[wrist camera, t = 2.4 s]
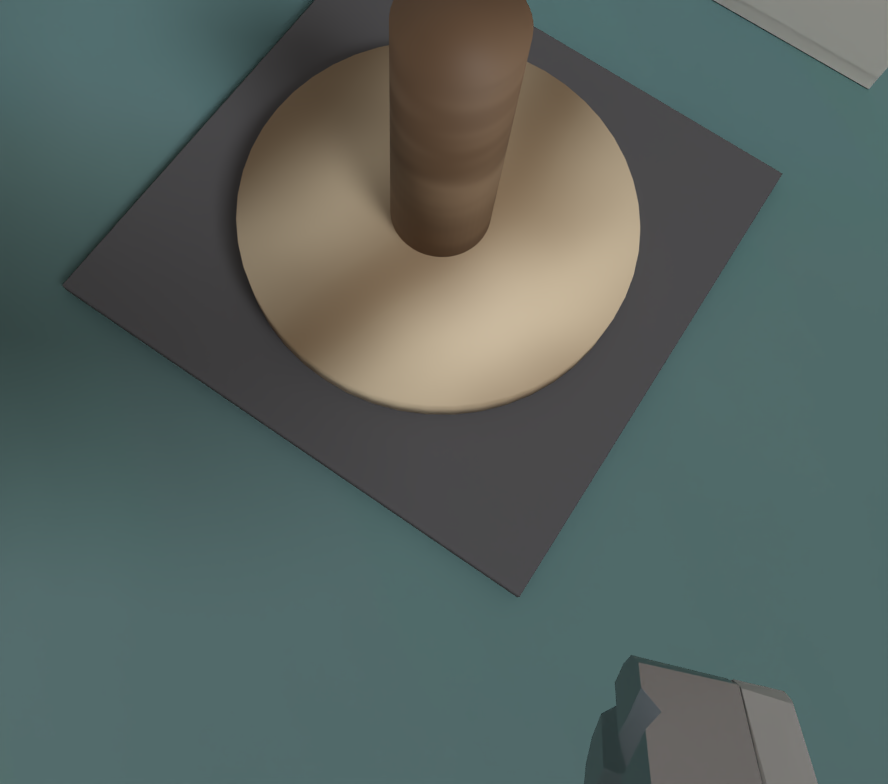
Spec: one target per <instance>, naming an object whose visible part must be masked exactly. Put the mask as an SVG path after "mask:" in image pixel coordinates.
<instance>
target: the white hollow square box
mask: <svg viewBox="0 0 888 784" xmlns="http://www.w3.org/2000/svg"><path fill="white" fill-rule="evenodd" d="M714 1H716V2H717V3H719V4H721V5H723V6H724V7H726V8H728V9H730V10H731V11H733V12H735V13H737V14H738V15H740V16H742V17H744V18H745V19H747V20H749V21H751V22H752V23H754V24H756V25H758V26H759V27H761V28H763V29H765V30H766V31H768V32H770V33H771V34H773V35H775V36H777V37H778V38H780V39H782V40H784V41H785V42H787V43H789V44H791V45H792V46H794V47H796V48H798V49H799V50H801V51H803V52H805V53H806V54H808V55H810V56H812V57H813V58H815V59H817V60H819V61H820V62H822V63H824V64H826V65H827V66H829V67H831V68H833V69H834V70H836V71H838V72H840V73H841V74H843V75H845V76H847V77H848V78H850V79H852V80H853V81H855V82H857V83H859V84H860V85H862V86H864V87H866V88H867V89H869V88H870V87H871V86H872V85H873V84H874V82H875V81H876V80H877V79H878V78H879V77H880V76H881V74H882V73H883V72H884V71H885V70H886V69H887V67H888V0H714Z"/></svg>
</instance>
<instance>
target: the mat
mask: <svg viewBox="0 0 888 784" xmlns="http://www.w3.org/2000/svg"><path fill="white" fill-rule="evenodd" d="M392 2H393V0H315V1H314V2H313V3H312V4H311V5H310V6H309V7H308V9H307V10H306V11H305V12H304V13H303V14H302V15H301V17H300V18H299V19H298V20H297V21H296V22H295V23H294V24H293V26H292V27H291V28H290V29H289V30H288V31H287V32H286V33H285V35H284V36H283V37H282V38H281V39H280V40H279V41H278V42H277V44H276V45H275V46H274V47H273V48H272V49H271V50H270V51H269V53H268V54H267V55H266V56H265V57H264V58H263V59H262V60H261V62H260V63H259V64H258V65H257V66H256V67H255V68H254V69H253V71H252V72H251V73H250V74H249V75H248V76H247V77H246V79H245V80H244V81H243V82H242V83H241V84H240V85H239V86H238V88H237V89H236V90H235V91H234V92H233V93H232V94H231V95H230V97H229V98H228V99H227V100H226V101H225V102H224V103H223V104H222V106H221V107H220V108H219V109H218V110H217V111H216V112H215V113H214V115H213V116H212V117H211V118H210V119H209V120H208V121H207V122H206V124H205V125H204V126H203V127H202V128H201V129H200V130H199V131H198V133H197V134H196V135H195V136H194V137H193V138H192V139H191V141H190V142H189V143H188V144H187V145H186V146H185V147H184V148H183V150H182V151H181V152H180V153H179V154H178V155H177V156H176V157H175V159H174V160H173V161H172V162H171V163H170V164H169V165H168V166H167V168H166V169H165V170H164V171H163V172H162V173H161V174H160V175H159V177H158V178H157V179H156V180H155V181H154V182H153V183H152V184H151V186H150V187H149V188H148V189H147V190H146V191H145V192H144V193H143V195H142V196H141V197H140V198H139V199H138V200H137V201H136V203H135V204H134V205H133V206H132V207H131V208H130V209H129V210H128V212H127V213H126V214H125V215H124V216H123V217H122V218H121V219H120V221H119V222H118V223H117V224H116V225H115V226H114V227H113V228H112V230H111V231H110V232H109V233H108V234H107V235H106V236H105V237H104V239H103V240H102V241H101V242H100V243H99V244H98V245H97V246H96V248H95V249H94V250H93V251H92V252H91V253H90V254H89V255H88V257H87V258H86V259H85V260H84V261H83V262H82V263H81V264H80V266H79V267H78V268H77V269H76V270H75V271H74V272H73V274H72V275H71V276H70V277H69V278H68V279H67V280H66V281H65V283H64V284H63V287H64V288H65V289H66V290H67V291H69V292H70V293H72V294H73V295H75V296H76V297H77V298H79V299H80V300H82V301H83V302H85V303H86V304H88V305H89V306H91V307H92V308H94V309H95V310H97V311H98V312H100V313H101V314H102V315H104V316H105V317H107V318H108V319H110V320H111V321H113V322H114V323H116V324H117V325H119V326H120V327H122V328H123V329H124V330H126V331H127V332H129V333H130V334H132V335H133V336H135V337H136V338H138V339H139V340H141V341H142V342H144V343H145V344H146V345H148V346H149V347H151V348H152V349H154V350H155V351H157V352H158V353H160V354H161V355H163V356H164V357H166V358H167V359H168V360H170V361H171V362H173V363H174V364H176V365H177V366H179V367H180V368H182V369H183V370H185V371H186V372H188V373H189V374H190V375H192V376H193V377H195V378H196V379H198V380H199V381H201V382H202V383H204V384H205V385H207V386H208V387H210V388H211V389H212V390H214V391H215V392H217V393H218V394H220V395H221V396H223V397H224V398H226V399H227V400H229V401H230V402H232V403H233V404H235V405H236V406H237V407H239V408H240V409H242V410H243V411H245V412H246V413H248V414H249V415H251V416H252V417H254V418H255V419H257V420H258V421H259V422H261V423H262V424H264V425H265V426H267V427H268V428H270V429H271V430H273V431H274V432H276V433H277V434H279V435H280V436H281V437H283V438H284V439H286V440H287V441H289V442H290V443H292V444H293V445H295V446H296V447H298V448H299V449H301V450H302V451H303V452H305V453H306V454H308V455H309V456H311V457H312V458H314V459H315V460H317V461H318V462H320V463H321V464H323V465H324V466H325V467H327V468H328V469H330V470H331V471H333V472H334V473H336V474H337V475H339V476H340V477H342V478H343V479H345V480H346V481H348V482H349V483H350V484H352V485H353V486H355V487H356V488H358V489H359V490H361V491H362V492H364V493H365V494H367V495H368V496H370V497H371V498H372V499H374V500H375V501H377V502H378V503H380V504H381V505H383V506H384V507H386V508H387V509H389V510H390V511H392V512H393V513H394V514H396V515H397V516H399V517H400V518H402V519H403V520H405V521H406V522H408V523H409V524H411V525H412V526H414V527H415V528H416V529H418V530H419V531H421V532H422V533H424V534H425V535H427V536H428V537H430V538H431V539H433V540H434V541H436V542H437V543H438V544H440V545H441V546H443V547H444V548H446V549H447V550H449V551H450V552H452V553H453V554H455V555H456V556H458V557H459V558H460V559H462V560H463V561H465V562H466V563H468V564H469V565H471V566H472V567H474V568H475V569H477V570H478V571H480V572H481V573H483V574H484V575H485V576H487V577H488V578H490V579H491V580H493V581H494V582H496V583H497V584H499V585H500V586H502V587H503V588H505V589H506V590H507V591H509V592H510V593H512V594H513V595H515V596H516V597H520V595H521V593H522V592H523V590H524V588H525V587H526V585H527V584H528V582H529V580H530V579H531V577H532V576H533V574H534V572H535V571H536V569H537V568H538V566H539V564H540V563H541V561H542V560H543V558H544V556H545V555H546V553H547V552H548V550H549V548H550V547H551V545H552V543H553V542H554V540H555V539H556V537H557V535H558V534H559V532H560V531H561V529H562V527H563V526H564V524H565V523H566V521H567V519H568V518H569V516H570V515H571V513H572V511H573V510H574V508H575V506H576V505H577V503H578V502H579V500H580V498H581V497H582V495H583V494H584V492H585V490H586V489H587V487H588V486H589V484H590V482H591V481H592V479H593V478H594V476H595V474H596V473H597V471H598V469H599V468H600V466H601V465H602V463H603V461H604V460H605V458H606V457H607V455H608V453H609V452H610V450H611V449H612V447H613V445H614V444H615V442H616V441H617V439H618V437H619V436H620V434H621V433H622V431H623V429H624V428H625V426H626V424H627V423H628V421H629V420H630V418H631V416H632V415H633V413H634V412H635V410H636V408H637V407H638V405H639V404H640V402H641V400H642V399H643V397H644V396H645V394H646V392H647V391H648V389H649V387H650V386H651V384H652V383H653V381H654V379H655V378H656V376H657V375H658V373H659V371H660V370H661V368H662V367H663V365H664V363H665V362H666V360H667V359H668V357H669V355H670V354H671V352H672V350H673V349H674V347H675V346H676V344H677V342H678V341H679V339H680V338H681V336H682V334H683V333H684V331H685V330H686V328H687V326H688V325H689V323H690V322H691V320H692V318H693V317H694V315H695V313H696V312H697V310H698V309H699V307H700V305H701V304H702V302H703V301H704V299H705V297H706V296H707V294H708V293H709V291H710V289H711V288H712V286H713V285H714V283H715V281H716V280H717V278H718V277H719V275H720V273H721V272H722V270H723V268H724V267H725V265H726V264H727V262H728V260H729V259H730V257H731V256H732V254H733V252H734V251H735V249H736V248H737V246H738V244H739V243H740V241H741V240H742V238H743V236H744V235H745V233H746V231H747V230H748V228H749V227H750V225H751V223H752V222H753V220H754V219H755V217H756V215H757V214H758V212H759V211H760V209H761V207H762V206H763V204H764V203H765V201H766V199H767V198H768V196H769V194H770V193H771V191H772V190H773V188H774V186H775V185H776V183H777V182H778V180H779V178H780V177H781V175H782V173H780V172H779V171H777V170H775V169H774V168H772V167H770V166H769V165H767V164H765V163H764V162H762V161H760V160H758V159H757V158H755V157H753V156H752V155H750V154H748V153H747V152H745V151H743V150H742V149H740V148H738V147H737V146H735V145H733V144H731V143H730V142H728V141H726V140H725V139H723V138H721V137H720V136H718V135H716V134H715V133H713V132H711V131H710V130H708V129H706V128H704V127H703V126H701V125H699V124H698V123H696V122H694V121H693V120H691V119H689V118H688V117H686V116H684V115H683V114H681V113H679V112H677V111H676V110H674V109H672V108H671V107H669V106H667V105H666V104H664V103H662V102H661V101H659V100H657V99H656V98H654V97H652V96H650V95H649V94H647V93H645V92H644V91H642V90H640V89H639V88H637V87H635V86H634V85H632V84H630V83H629V82H627V81H625V80H623V79H622V78H620V77H618V76H617V75H615V74H613V73H612V72H610V71H608V70H607V69H605V68H603V67H602V66H600V65H598V64H596V63H595V62H593V61H591V60H590V59H588V58H586V57H585V56H583V55H581V54H580V53H578V52H576V51H575V50H573V49H571V48H569V47H568V46H566V45H564V44H563V43H561V42H559V41H558V40H556V39H554V38H553V37H551V36H549V35H548V34H546V33H544V32H543V31H541V30H539V29H537V28H536V27H534V26H533V37H532V42H531V46H530V50H529V55H528V59H527V62H528V63H530V64H532V65H534V66H536V67H538V68H540V69H542V70H544V71H546V72H547V73H549V74H550V75H552V76H553V77H555V78H556V79H558V80H559V81H561V82H562V83H564V84H565V85H566V86H568V87H569V88H570V89H571V90H572V91H573V92H575V93H576V94H577V95H578V96H579V97H580V98H582V99H583V100H584V101H585V102H586V103H587V104H588V105H589V106H590V108H591V109H592V110H593V111H594V112H595V113H596V114H597V115H598V116H599V117H600V119H601V120H602V121H603V123H604V124H605V126H606V127H607V128H608V130H609V131H610V133H611V134H612V135H613V137H614V138H615V140H616V142H617V144H618V146H619V148H620V150H621V152H622V154H623V155H624V157H625V159H626V162H627V165H628V167H629V170H630V173H631V176H632V178H633V181H634V185H635V190H636V194H637V199H638V203H639V216H640V241H639V253H638V257H637V262H636V267H635V271H634V275H633V278H632V281H631V283H630V286H629V289H628V291H627V294H626V297H625V299H624V300H623V302H622V304H621V306H620V308H619V310H618V311H617V313H616V315H615V317H614V319H613V320H612V322H611V323H610V324H609V326H608V327H607V329H606V330H605V332H604V333H603V334H602V336H601V337H600V338H599V340H598V341H597V342H596V344H595V345H594V346H593V348H592V349H591V350H590V351H589V352H588V353H587V354H586V355H585V356H584V357H583V358H582V359H581V360H580V361H579V362H578V363H577V364H576V365H575V366H574V367H573V368H572V369H571V370H569V371H568V372H567V373H565V374H564V375H563V376H561V377H560V378H559V379H557V380H556V381H555V382H553V383H552V384H550V385H548V386H546V387H544V388H543V389H541V390H539V391H537V392H535V393H534V394H532V395H530V396H527V397H525V398H522V399H520V400H517V401H515V402H512V403H510V404H507V405H504V406H500V407H496V408H492V409H488V410H484V411H479V412H471V413H462V414H454V415H447V414H420V413H413V412H406V411H399V410H395V409H391V408H388V407H384V406H380V405H377V404H373V403H370V402H368V401H366V400H363V399H361V398H358V397H356V396H353V395H351V394H349V393H347V392H345V391H343V390H341V389H340V388H338V387H336V386H334V385H333V384H331V383H329V382H327V381H326V380H324V379H323V378H322V377H320V376H319V375H318V374H316V373H315V372H314V371H312V370H311V369H310V368H308V367H307V366H306V365H304V364H303V363H302V362H301V361H300V360H299V359H298V358H297V357H296V356H295V355H294V354H293V353H292V352H291V351H290V350H289V349H288V348H287V347H286V346H285V344H284V343H283V342H282V341H281V339H280V338H279V337H278V335H277V334H276V333H275V331H274V330H273V329H272V327H271V326H270V324H269V323H268V321H267V319H266V317H265V316H264V314H263V312H262V310H261V308H260V307H259V305H258V303H257V300H256V298H255V295H254V293H253V290H252V288H251V285H250V283H249V280H248V277H247V275H246V272H245V270H244V267H243V263H242V258H241V254H240V250H239V245H238V237H237V224H236V212H237V198H238V191H239V187H240V182H241V177H242V173H243V169H244V167H245V164H246V162H247V159H248V156H249V154H250V151H251V148H252V147H253V145H254V143H255V141H256V139H257V138H258V136H259V134H260V132H261V130H262V128H263V127H264V126H265V124H266V123H267V122H268V120H269V119H270V118H271V116H272V115H273V114H274V112H275V111H276V110H277V108H278V107H279V106H280V105H281V104H282V103H283V102H284V101H285V100H286V99H287V98H288V97H289V96H290V95H291V94H292V93H293V92H294V91H295V90H297V89H298V88H299V87H300V86H302V85H303V84H304V83H306V82H307V81H308V80H309V79H311V78H312V77H313V76H315V75H317V74H318V73H320V72H322V71H323V70H325V69H327V68H328V67H330V66H332V65H333V64H336V63H338V62H340V61H342V60H344V59H347V58H349V57H351V56H353V55H356V54H359V53H362V52H365V51H368V50H372V49H375V48H378V47H383V46H388V45H389V14H390V8H391V5H392Z"/></svg>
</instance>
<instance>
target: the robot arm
mask: <svg viewBox="0 0 888 784" xmlns="http://www.w3.org/2000/svg"><path fill="white" fill-rule="evenodd" d="M615 693H616V706H615V707H613V708H611V709H609V710H607V711H605V712H603V713H601V716H600V718H599V721H598V723H597V726H596V728H595V731H594V733H593V736H592V739H591V744H590V748H589V752H588V757H587V761H586V768H585V780H584V784H818V782H817V779H816V776H815V773H814V769H813V766H812V763H811V760H810V756H809V753H808V750H807V747H806V744H805V740H804V737H803V734H802V731H801V728H800V724H799V721H798V718H797V715H796V711H795V708H794V705H793V702H792V700H791V699H790V698H789V696H788V695H787V694H786V693H785V692H784V691H780V690H776V689H772V688H768V687H763V686H759V685H755V684H751V683H747V682H742V681H738V680H734V679H733V680H731V681H730V680H729V679H727V678H723V677H719V676H715V675H710V674H706V673H702V672H698V671H694V670H690V669H686V668H682V667H678V666H674V665H670V664H665V663H661V662H657V661H653V660H649V659H645V658H641V657H637V656H633V655H631V656H630V657H629V658H628V659H627V660H626V662H625V663H624V664H623V666H622V668H621V670H620V672H619V675H618V677H617V679H616V681H615Z"/></svg>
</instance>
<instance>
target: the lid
mask: <svg viewBox="0 0 888 784" xmlns="http://www.w3.org/2000/svg"><path fill="white" fill-rule="evenodd" d="M532 37H533V19H532V14H531V11H530V8H529V5H528V4H527V2H526V0H393V2H392V5H391V8H390V14H389V45H388V46H383V47H378V48H375V49H372V50H368V51H365V52H362V53H359V54H356V55H353V56H351V57H349V58H347V59H344V60H342V61H340V62H338V63H336V64H333V65H332V66H330V67H328V68H327V69H325V70H323V71H322V72H320V73H318V74H317V75H315V76H313V77H312V78H311V79H309V80H308V81H307V82H306V83H304V84H303V85H302V86H300V87H299V88H298V89H297V90H295V91H294V92H293V93H292V94H291V95H290V96H289V97H288V98H287V99H286V100H285V101H284V102H283V103H282V104H281V105H280V106H279V107H278V108H277V110H276V111H275V112H274V114H273V115H272V116H271V118H270V119H269V120H268V122H267V123H266V124H265V126H264V127H263V128H262V130H261V132H260V134H259V136H258V138H257V139H256V141H255V143H254V145H253V147H252V148H251V151H250V154H249V156H248V159H247V162H246V164H245V167H244V169H243V173H242V177H241V182H240V187H239V191H238V198H237V212H236V224H237V237H238V245H239V250H240V254H241V258H242V263H243V267H244V270H245V272H246V275H247V277H248V280H249V283H250V285H251V288H252V290H253V293H254V295H255V298H256V300H257V303H258V305H259V307H260V308H261V310H262V312H263V314H264V316H265V317H266V319H267V321H268V323H269V324H270V326H271V327H272V329H273V330H274V331H275V333H276V334H277V335H278V337H279V338H280V339H281V341H282V342H283V343H284V344H285V346H286V347H287V348H288V349H289V350H290V351H291V352H292V353H293V354H294V355H295V356H296V357H297V358H298V359H299V360H300V361H301V362H302V363H303V364H304V365H306V366H307V367H308V368H310V369H311V370H312V371H314V372H315V373H316V374H318V375H319V376H320V377H322V378H323V379H324V380H326V381H327V382H329V383H331V384H333V385H334V386H336V387H338V388H340V389H341V390H343V391H345V392H347V393H349V394H351V395H353V396H356V397H358V398H361V399H363V400H366V401H368V402H370V403H373V404H377V405H380V406H384V407H388V408H391V409H395V410H399V411H406V412H413V413H420V414H447V415H454V414H462V413H471V412H479V411H484V410H488V409H492V408H496V407H500V406H504V405H507V404H510V403H512V402H515V401H517V400H520V399H522V398H525V397H527V396H530V395H532V394H534V393H535V392H537V391H539V390H541V389H543V388H544V387H546V386H548V385H550V384H552V383H553V382H555V381H556V380H557V379H559V378H560V377H561V376H563V375H564V374H565V373H567V372H568V371H569V370H571V369H572V368H573V367H574V366H575V365H576V364H577V363H578V362H579V361H580V360H581V359H582V358H583V357H584V356H585V355H586V354H587V353H588V352H589V351H590V350H591V349H592V348H593V346H594V345H595V344H596V342H597V341H598V340H599V338H600V337H601V336H602V334H603V333H604V332H605V330H606V329H607V327H608V326H609V324H610V323H611V322H612V320H613V319H614V317H615V315H616V313H617V311H618V310H619V308H620V306H621V304H622V302H623V300H624V299H625V297H626V294H627V291H628V289H629V286H630V283H631V281H632V278H633V275H634V271H635V267H636V262H637V257H638V253H639V241H640V216H639V203H638V199H637V194H636V190H635V185H634V181H633V178H632V176H631V173H630V170H629V167H628V165H627V162H626V159H625V157H624V155H623V154H622V152H621V150H620V148H619V146H618V144H617V142H616V140H615V138H614V137H613V135H612V134H611V133H610V131H609V130H608V128H607V127H606V126H605V124H604V123H603V121H602V120H601V119H600V117H599V116H598V115H597V114H596V113H595V112H594V111H593V110H592V109H591V108H590V106H589V105H588V104H587V103H586V102H585V101H584V100H583V99H582V98H580V97H579V96H578V95H577V94H576V93H575V92H573V91H572V90H571V89H570V88H569V87H568V86H566V85H565V84H564V83H562V82H561V81H559V80H558V79H556V78H555V77H553V76H552V75H550V74H549V73H547V72H546V71H544V70H542V69H540V68H538V67H536V66H534V65H532V64H530V63H528V62H527V59H528V55H529V50H530V46H531V42H532Z"/></svg>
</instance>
